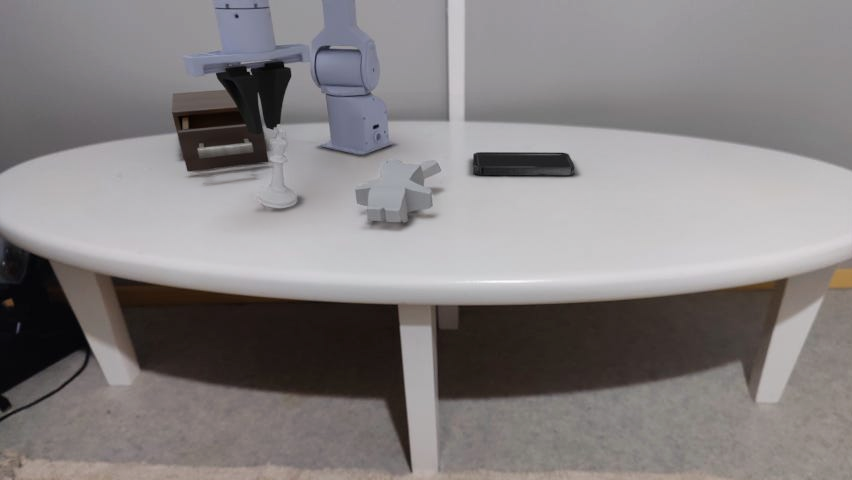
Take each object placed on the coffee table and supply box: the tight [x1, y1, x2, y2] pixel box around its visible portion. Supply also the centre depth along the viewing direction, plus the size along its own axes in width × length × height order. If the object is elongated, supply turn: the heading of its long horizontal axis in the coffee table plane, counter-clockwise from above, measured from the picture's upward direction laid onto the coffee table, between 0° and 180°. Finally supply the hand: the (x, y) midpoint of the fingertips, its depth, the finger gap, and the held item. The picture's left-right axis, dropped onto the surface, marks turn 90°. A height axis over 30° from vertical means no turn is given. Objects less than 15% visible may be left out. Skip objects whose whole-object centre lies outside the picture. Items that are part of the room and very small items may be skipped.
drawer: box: [177, 111, 270, 173], centre depth 85 cm, size 19×11×6 cm, turn 25°
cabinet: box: [171, 89, 239, 159], centre depth 95 cm, size 15×12×7 cm
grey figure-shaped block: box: [354, 157, 442, 223], centre depth 71 cm, size 10×5×15 cm
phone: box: [472, 151, 575, 176], centre depth 86 cm, size 8×1×15 cm
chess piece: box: [256, 123, 298, 209], centre depth 70 cm, size 5×5×10 cm
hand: (264, 130), depth 68 cm, fingers closed
